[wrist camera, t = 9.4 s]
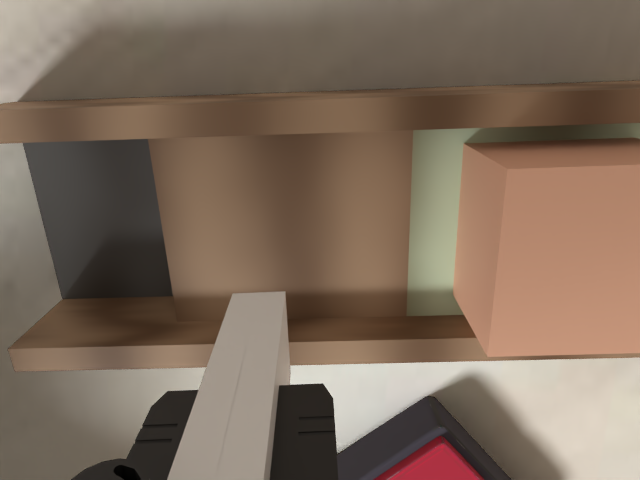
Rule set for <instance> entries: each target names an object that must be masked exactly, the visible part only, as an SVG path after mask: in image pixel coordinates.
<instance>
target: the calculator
mask: <svg viewBox="0 0 640 480" xmlns="http://www.w3.org/2000/svg"><path fill="white" fill-rule="evenodd" d="M337 465H338V480H511V479H510V478H509V477H508V476H507V474H506V473H505V472H504V471H503V470H502V469H501V468H500V467H499V466H498V465H497V464H496V463H495V462H494V460H493V459H492V458H491V457H490V456H489V455H488V454H487V453H486V452H485V451H484V450H483V449H482V448H481V447H480V445H479V444H478V443H477V442H476V441H475V440H474V439H473V438H472V437H471V436H470V435H469V434H468V433H467V431H466V430H465V429H464V428H463V427H462V426H461V425H460V424H459V423H458V422H457V421H456V420H455V419H454V417H453V416H452V415H451V414H450V413H449V412H448V411H447V410H446V409H445V408H444V407H443V406H442V405H441V404H440V402H439V401H438V400H437V399H436V398H434V397H432V396H427V397H425V398H423V399H421V400H420V401H418V402H417V403H415V404H414V405H412V406H410V407H409V408H407V409H406V410H404V411H403V412H401V413H400V414H398V415H397V416H395V417H393V418H392V419H390V420H389V421H387V422H386V423H384V424H383V425H381V426H379V427H378V428H376V429H375V430H373V431H372V432H370V433H369V434H367V435H366V436H364V437H363V438H361V439H360V440H358V441H357V442H355V443H354V444H352V445H351V446H350V447H348V448H347V449H345V450H344V451H342V452H341V453H340V454H338V455H337Z"/></svg>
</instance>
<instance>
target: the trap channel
mask: <svg viewBox="0 0 640 480" xmlns="http://www.w3.org/2000/svg"><path fill="white" fill-rule="evenodd" d="M606 138H638V139H640V80H639V81H610V82H580V83H551V84H522V85H493V86H463V87H434V88H405V89H376V90H346V91H317V92H288V93H259V94H229V95H200V96H171V97H142V98H112V99H83V100H54V101H25V102H11V103H3V104H0V144H2V143H23V145H24V149H25V153H26V157H27V161H28V165H29V169H30V173H31V177H32V181H33V185H34V188H35V192H36V196H37V200H38V204H39V208H40V212H41V216H42V220H43V224H44V228H45V232H46V236H47V240H48V243H49V247H50V251H51V255H52V259H53V263H54V267H55V271H56V275H57V279H58V283H59V287H60V291H61V295H62V298H63V299H62V300H61V301H60V302H59V303H58V304H57V305H56V306H55V307H53V308H52V309H51V310H50V311H49V312H48V313H47V314H46V315H45V316H44V317H42V318H41V319H40V320H39V321H38V322H37V323H36V324H35V325H34V326H33V327H31V328H30V329H29V330H28V331H27V332H26V333H25V334H24V335H23V336H22V337H20V338H19V339H18V340H17V341H16V342H15V343H14V344H13V345H12V346H11V347H9V348H8V352H9V355H10V358H11V361H12V364H13V368H14V371H15V372H20V371H64V370H107V369H151V368H195V367H207V365H208V362H209V359H210V356H211V353H212V351H213V348H214V345H215V342H216V339H217V336H218V334H219V331H220V328H221V325H222V322H223V319H224V317H225V314H226V311H227V308H228V305H229V302H230V300H231V297H232V294H233V293H257V292H283V291H285V294H286V310H287V326H288V341H289V357H290V365H326V364H370V363H414V362H457V361H501V360H545V359H589V358H632V357H640V353H624V354H585V355H545V356H505V357H487V355H486V353H485V352H484V350H483V348H482V346H481V344H480V343H479V341H478V339H477V337H476V335H475V334H474V332H473V330H472V328H471V326H470V325H469V323H468V321H467V319H466V317H465V315H464V314H463V312H462V310H461V308H460V306H459V305H458V303H457V301H456V299H455V297H454V296H453V283H454V269H455V256H456V242H457V228H458V214H459V200H460V186H461V172H462V158H463V144H464V143H489V142H518V141H548V140H577V139H606Z"/></svg>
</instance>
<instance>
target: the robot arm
mask: <svg viewBox="0 0 640 480" xmlns="http://www.w3.org/2000/svg"><path fill="white" fill-rule="evenodd" d="M290 373H291V372H290V357H289V341H288V326H287V310H286V294H285V291H283V292H257V293H233V294H232V297H231V300H230V302H229V305H228V308H227V311H226V314H225V317H224V319H223V322H222V325H221V328H220V331H219V334H218V336H217V339H216V342H215V345H214V348H213V351H212V353H211V356H210V359H209V362H208V365H207V368H206V370H205V373H204V376H203V379H202V382H201V385H200V387H199V390H187V391H167V392H166V393H165V394H164V395H163V396H162V397H161V398H160V399H159V400H158V401H157V402H156V403H155V404H154V405H153V406H152V407H151V408H150V410H149V413H148V415H147V417H146V419H145V421H144V423H143V428H142V429H140V431H139V434H138V436H137V438H136V440H135V444H133V446H132V448H131V450H130V453H129V455H128V457H127V459H115V460H109V461H104V462H101V463H98V464H96V465H94V466H92V467H89V468H87V469H85V470H83V471H82V472H81V473H79V474H78V475H77V476H75V477H74V478H73V479H71V480H338V465H337V450H336V435H335V421H334V406H333V398H332V396H331V395H330V393H329V392H328V390H327V389H326V387H325V386H324V385H323V384H301V385H290Z"/></svg>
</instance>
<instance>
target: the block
mask: <svg viewBox="0 0 640 480" xmlns="http://www.w3.org/2000/svg"><path fill="white" fill-rule="evenodd" d="M453 296H454V297H455V299H456V301H457V303H458V305H459V306H460V308H461V310H462V312H463V314H464V315H465V317H466V319H467V321H468V323H469V325H470V326H471V328H472V330H473V332H474V334H475V335H476V337H477V339H478V341H479V343H480V344H481V346H482V348H483V350H484V352H485V353H486V355H487V357H505V356H545V355H585V354H624V353H640V139H638V138H606V139H577V140H548V141H518V142H489V143H464V144H463V158H462V172H461V186H460V200H459V214H458V228H457V242H456V256H455V269H454V283H453Z"/></svg>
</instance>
